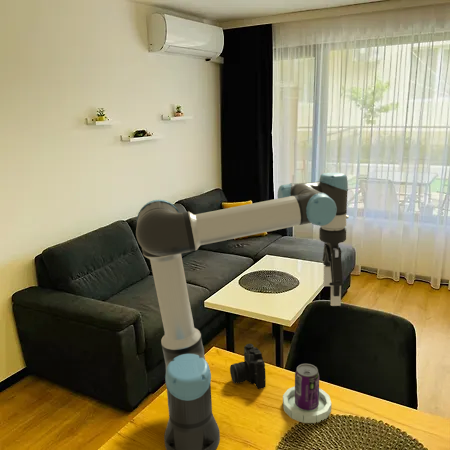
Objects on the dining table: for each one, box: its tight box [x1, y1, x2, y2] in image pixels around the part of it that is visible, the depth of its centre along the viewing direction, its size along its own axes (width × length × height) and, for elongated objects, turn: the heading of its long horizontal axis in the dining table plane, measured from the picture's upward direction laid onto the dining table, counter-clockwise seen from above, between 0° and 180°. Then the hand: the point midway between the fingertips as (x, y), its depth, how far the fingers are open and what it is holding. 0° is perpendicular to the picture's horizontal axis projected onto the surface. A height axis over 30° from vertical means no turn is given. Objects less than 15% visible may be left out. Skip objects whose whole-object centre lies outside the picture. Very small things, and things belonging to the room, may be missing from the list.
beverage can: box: [294, 363, 320, 410], centre depth 129 cm, size 7×7×12 cm
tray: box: [282, 385, 332, 424], centre depth 131 cm, size 14×14×2 cm
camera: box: [229, 343, 267, 390], centre depth 145 cm, size 14×11×10 cm
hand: (331, 295), depth 130 cm, fingers open, 13 cm apart
